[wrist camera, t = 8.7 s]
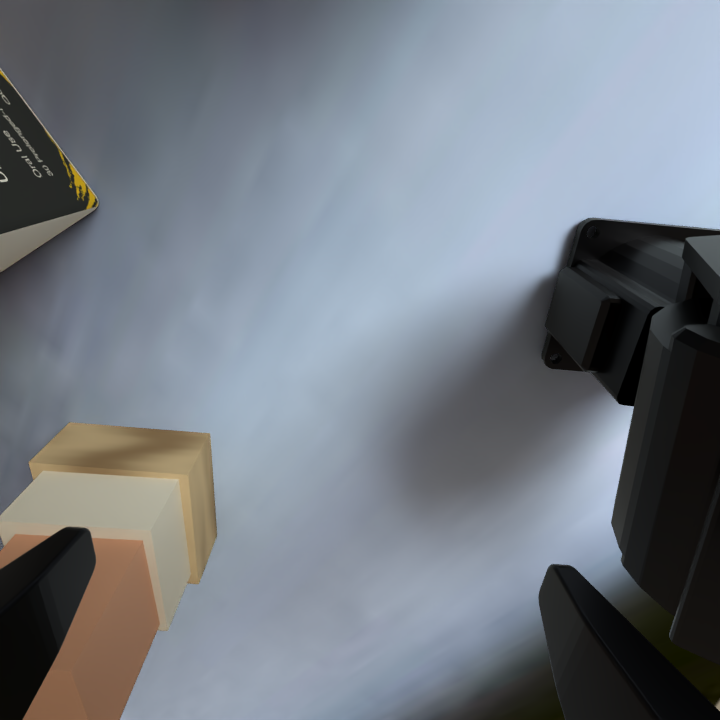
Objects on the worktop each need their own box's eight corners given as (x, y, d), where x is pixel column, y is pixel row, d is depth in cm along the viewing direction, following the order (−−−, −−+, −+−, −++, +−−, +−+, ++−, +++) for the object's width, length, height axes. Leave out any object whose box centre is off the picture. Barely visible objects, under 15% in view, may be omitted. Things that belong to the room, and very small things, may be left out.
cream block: (178, 479, 21) (150, 530, 18) (191, 574, 24) (167, 630, 21) (43, 470, 21) (-5, 520, 18) (70, 566, 24) (31, 622, 21)
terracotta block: (142, 540, 19) (71, 670, 14) (160, 623, 21) (103, 759, 16) (15, 534, 19) (-97, 662, 14) (46, 618, 21) (-43, 753, 16)
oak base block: (211, 429, 24) (188, 474, 21) (218, 531, 27) (198, 584, 24) (73, 418, 24) (28, 462, 21) (95, 522, 27) (59, 573, 24)
